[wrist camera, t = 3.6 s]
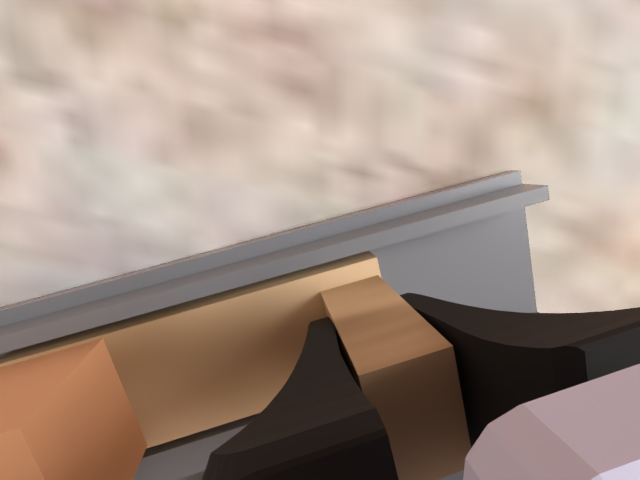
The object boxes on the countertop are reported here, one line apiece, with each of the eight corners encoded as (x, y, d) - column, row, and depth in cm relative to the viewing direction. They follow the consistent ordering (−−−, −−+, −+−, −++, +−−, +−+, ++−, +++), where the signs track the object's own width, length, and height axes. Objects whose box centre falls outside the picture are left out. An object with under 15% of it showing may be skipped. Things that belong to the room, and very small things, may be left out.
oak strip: (389, 351, 14) (482, 487, 8) (65, 452, 13) (-105, 696, 7) (367, 249, 13) (452, 317, 7) (14, 348, 12) (-229, 526, 6)
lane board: (542, 435, 17) (576, 467, 15) (52, 605, 15) (23, 667, 13) (510, 170, 14) (546, 170, 12) (-98, 334, 12) (-162, 363, 10)
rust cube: (147, 445, 12) (93, 575, 8) (21, 484, 12) (-97, 641, 8) (102, 338, 11) (19, 428, 7) (-35, 377, 11) (-201, 493, 7)
